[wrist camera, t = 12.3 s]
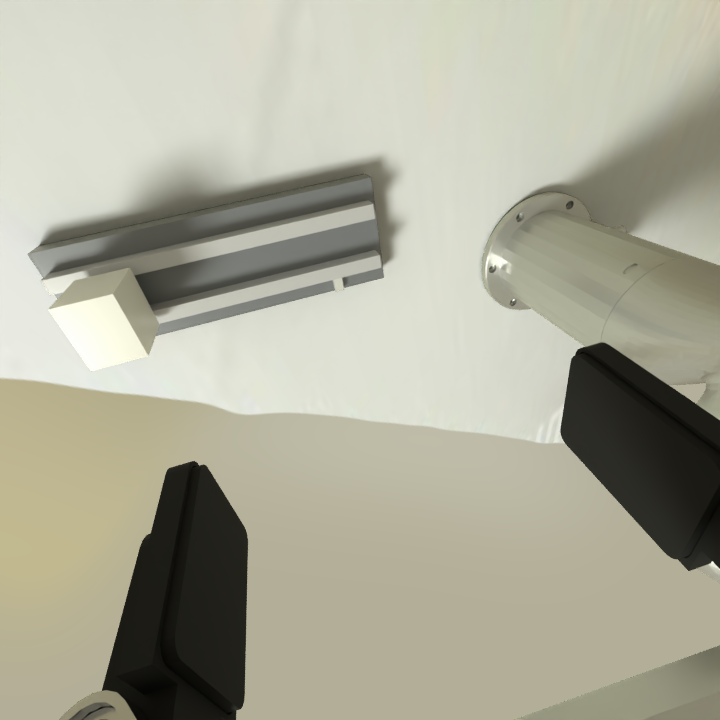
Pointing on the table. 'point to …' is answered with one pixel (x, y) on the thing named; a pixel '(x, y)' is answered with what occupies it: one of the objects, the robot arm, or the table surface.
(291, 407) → the table surface
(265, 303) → the slider console
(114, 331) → the fader tab
